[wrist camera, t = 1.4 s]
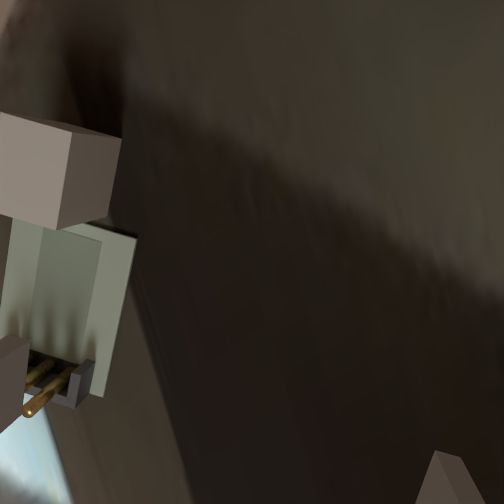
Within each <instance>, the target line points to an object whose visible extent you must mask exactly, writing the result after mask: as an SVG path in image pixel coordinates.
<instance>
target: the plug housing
mask: <svg viewBox="0 0 504 504" xmlns="http://www.w3.org/2000/svg"><path fill="white" fill-rule="evenodd" d="M121 140H122V139H121V138H117V137H114V136H110V135H107V134H103V133H100V132H96V131H93V130H89V129H85V128H82V127H78V126H75V125H71V124H68V123H64V122H57V121H51V120H45V119H39V118H33V117H27V116H21V115H14V114H8V113H2V112H1V114H0V214H2V215H6V216H9V217H12V218H16V219H19V220H22V221H26V222H29V223H33V224H36V225H39V226H43V227H46V228H49V229H53V230H59V229H63V228H67V227H70V226H74V225H78V224H81V223H85V222H89V221H92V220H96V219H100V218H103V217H107V213H108V208H109V203H110V198H111V192H112V187H113V182H114V177H115V172H116V166H117V161H118V156H119V151H120V146H121Z"/></svg>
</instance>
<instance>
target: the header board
mask: <svg viewBox="0 0 504 504" xmlns="http://www.w3.org/2000/svg"><path fill="white" fill-rule="evenodd" d="M137 240H138V239H136V238H133V237H130V236H126V235H123V234H120V233H116V232H113V231H109V230H106V229H103V228H99V227H96V226H93V225H89V224H86V223H81V224H78V225H74V226H70V227H67V228H63V229H59V230H53V229H49V228H46V227H43V226H39V225H36V224H33V223H29V222H26V221H22V220H19V219H16V218H13V222H12V229H11V236H10V243H9V251H8V258H7V265H6V272H5V279H4V286H3V293H2V300H1V308H0V339H2V338H3V337H5V336H7V335H12V336H15V337H19V338H23V339H26V340H30V349H31V350H34V351H38V352H41V353H44V354H47V355H50V356H53V357H56V358H60V359H63V360H66V361H69V362H72V363H75V364H80V365H79V366H78V367H77V368H76V369H75V370H74V371H73V372H71V377H70V382H69V383H68V384H67V385H66V386H65V387H64V388H63V389H61V390H60V391H59V392H58V393H57V394H56V395H55V396H54V397H53V398H52V399H51V400H50V401H51V402H55V403H58V404H61V405H64V406H67V407H70V408H73V409H75V408H76V407H77V406H78V405H79V404H80V403H81V402H82V401H83V399H84V398H85V397H86V396H87V395H88V394H89V393H91V394H94V395H97V396H100V397H104V395H105V391H106V386H107V381H108V376H109V372H110V367H111V362H112V358H113V353H114V348H115V343H116V339H117V334H118V329H119V325H120V320H121V315H122V310H123V306H124V301H125V296H126V292H127V287H128V282H129V277H130V273H131V268H132V263H133V258H134V254H135V249H136V244H137ZM34 368H35V367H31V366H28V365H27V374H28V373H29V372H30V371H32V370H33V369H34ZM57 376H58V375H56V374H53V373H50V372H49V373H48V374H47V375H46V376H44V377H43V378H42V379H41V380H39V381H38V382H37V383H36V384H35V385H33V386H32V387H31V388H30V389H28V390H27V391H26V392H25V393H27V394H30V395H33V396H35V395H36V394H37V393H38V392H40V391H41V390H42V389H43V388H44V387H45V386H47V385H48V384H49V383H50V382H51V381H52V380H53V379H55V378H56V377H57Z"/></svg>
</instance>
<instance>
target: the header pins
mask: <svg viewBox="0 0 504 504" xmlns="http://www.w3.org/2000/svg"><path fill="white" fill-rule="evenodd" d="M79 365H80V364H75V363H72V362H69V361H66V360H63V359H60V358H56V357H53V356H50V355H47V354H44V353H41V352H38V351H34V350H31V349H29V357H28V366H31V367H35V368H34V369H33V370H32V371H30V372H29V373H28V374H26V382H25V390H24V393H25V392H26V391H27V390H28V389H30V388H31V387H32V386H33V385H35V384H36V383H37V382H38V381H39V380H41V379H42V378H43V377H44V376H46V375H47V374H48V373H49V372H50V373H53V374H56V375H58V376H57V377H56V378H55V379H53V380H52V381H51V382H50V383H49V384H48V385H47V386H45V387H44V388H43V389H42V390H41V391H40V392H38V393H37V394H36V395H35V396H34V397H33V398H31V399H30V400H29V401H28V402H27V403H26V404H24V405H23V407H22V415H23V416H24V417H26V418H31V417H32V416H34V415H35V414H36V413H37V412H38V411H39V410H40V409H41V408H42V407H43V406H44V405H45V404H46V403H48V402H49V401H50V400H51V399H52V398H53V397H54V396H55V395H56V394H57V393H58V392H59V391H60V390H61V389H63V388H64V387H65V386H66V385H67V384H68V383H69V382H70V377H71V372H73V371H74V370H75V369H76V368H77V367H78V366H79Z"/></svg>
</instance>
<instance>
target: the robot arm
mask: <svg viewBox="0 0 504 504" xmlns="http://www.w3.org/2000/svg"><path fill="white" fill-rule="evenodd" d="M29 349H30V340H26V339H23V338H19V337H15V336H12V335H7V336H5V337H3V338H2V339H0V433H1V432H3V431H4V430H5V429H6V428H7V427H8V426H9V425H10V424H12V423H13V422H14V421H15V420H16V419H17V418H18V417H19V416H21V415H22V407H23V399H24V390H25V382H26V374H27V365H28V357H29ZM415 504H485V503H484V501H483V499H482V497H481V495H480V493H479V491H478V489H477V488H476V486H475V484H474V482H473V480H472V478H471V476H470V475H469V473H468V471H467V469H466V467H465V465H464V463H463V462H462V460H461V458H460V457H457V456H453V455H450V454H446V453H442V452H439V451H435V452H434V455H433V457H432V460H431V463H430V465H429V468H428V471H427V474H426V476H425V479H424V482H423V484H422V487H421V490H420V492H419V495H418V498H417V501H416V503H415Z"/></svg>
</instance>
